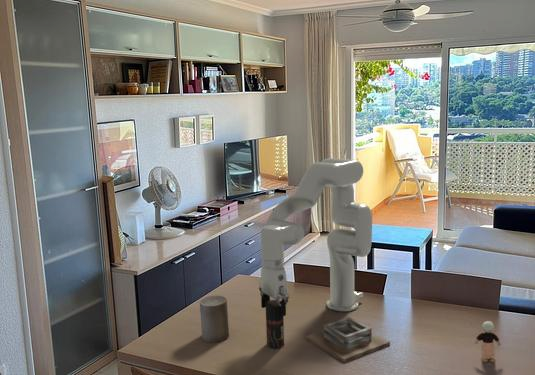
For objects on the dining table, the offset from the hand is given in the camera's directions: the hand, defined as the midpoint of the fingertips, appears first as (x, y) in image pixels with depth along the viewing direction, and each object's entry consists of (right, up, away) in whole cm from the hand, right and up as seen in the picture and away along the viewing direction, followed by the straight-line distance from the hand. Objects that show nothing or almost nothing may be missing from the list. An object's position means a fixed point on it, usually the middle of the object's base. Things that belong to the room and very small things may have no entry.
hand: (273, 311), depth 176 cm
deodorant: (+1, -12, +3) cm, 12 cm away
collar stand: (+25, -11, +3) cm, 28 cm away
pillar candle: (-21, -12, +10) cm, 26 cm away
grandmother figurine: (+67, -13, -12) cm, 69 cm away
